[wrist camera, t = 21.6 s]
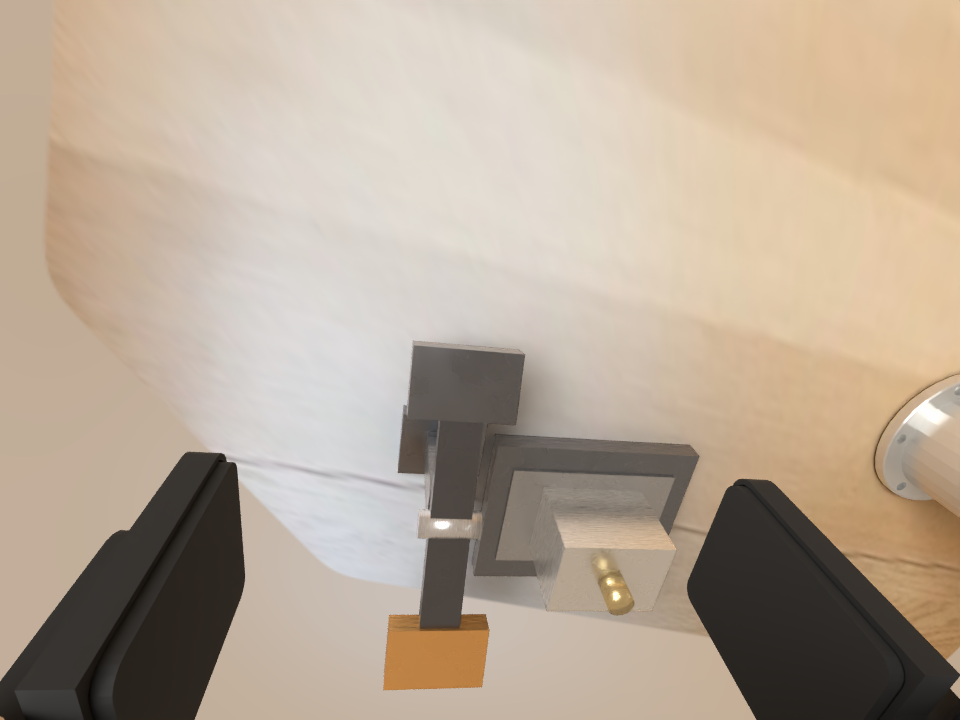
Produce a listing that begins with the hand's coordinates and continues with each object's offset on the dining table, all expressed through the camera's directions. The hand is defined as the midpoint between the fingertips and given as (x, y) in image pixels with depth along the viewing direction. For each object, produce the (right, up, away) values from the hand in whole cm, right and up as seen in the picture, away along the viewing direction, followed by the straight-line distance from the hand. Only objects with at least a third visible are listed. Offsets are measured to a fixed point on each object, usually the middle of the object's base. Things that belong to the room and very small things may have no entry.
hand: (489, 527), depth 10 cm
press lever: (-2, -6, +20) cm, 21 cm away
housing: (+8, -10, +31) cm, 33 cm away
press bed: (+5, -8, +31) cm, 33 cm away
